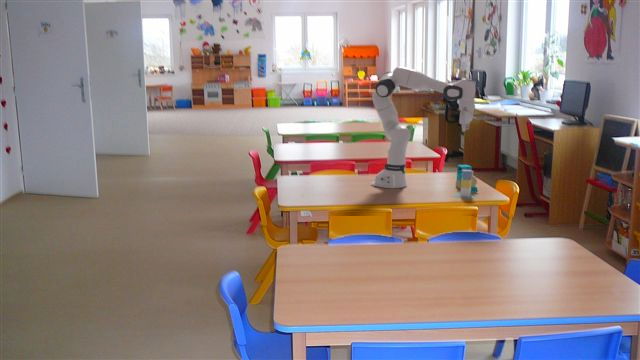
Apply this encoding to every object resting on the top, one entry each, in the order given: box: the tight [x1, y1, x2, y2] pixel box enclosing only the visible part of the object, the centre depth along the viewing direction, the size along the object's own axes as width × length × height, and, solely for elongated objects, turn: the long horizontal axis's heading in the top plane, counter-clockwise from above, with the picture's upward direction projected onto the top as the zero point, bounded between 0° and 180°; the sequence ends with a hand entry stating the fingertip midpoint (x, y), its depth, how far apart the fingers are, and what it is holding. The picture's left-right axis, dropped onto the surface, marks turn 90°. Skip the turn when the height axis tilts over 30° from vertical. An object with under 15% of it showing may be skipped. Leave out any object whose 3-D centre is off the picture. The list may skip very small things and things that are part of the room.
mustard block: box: [461, 178, 472, 188], centre depth 389 cm, size 5×5×5 cm
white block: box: [460, 187, 472, 197], centre depth 390 cm, size 5×5×5 cm
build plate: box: [451, 191, 479, 200], centre depth 391 cm, size 13×13×1 cm
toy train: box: [455, 164, 479, 193], centre depth 406 cm, size 8×17×15 cm, turn 15°
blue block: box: [462, 169, 473, 180], centre depth 388 cm, size 5×5×5 cm
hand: (465, 130), depth 388 cm, fingers open, 8 cm apart
